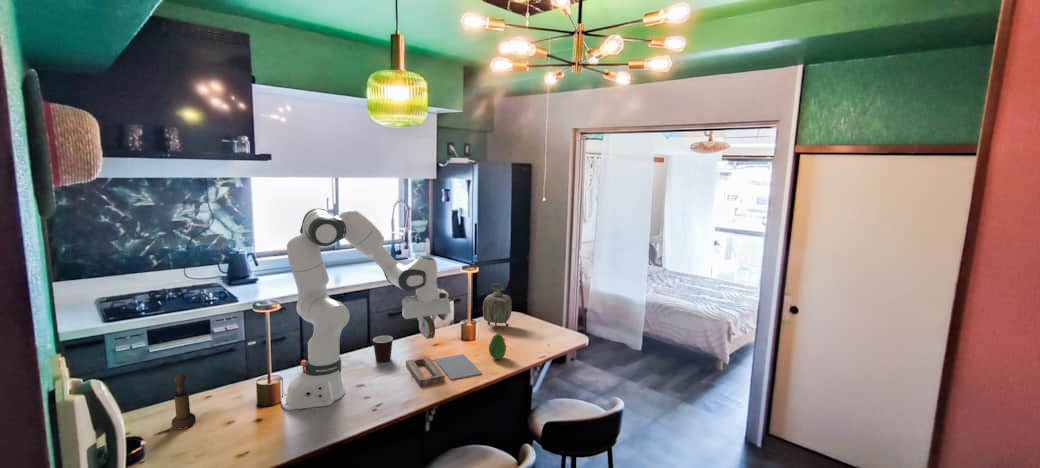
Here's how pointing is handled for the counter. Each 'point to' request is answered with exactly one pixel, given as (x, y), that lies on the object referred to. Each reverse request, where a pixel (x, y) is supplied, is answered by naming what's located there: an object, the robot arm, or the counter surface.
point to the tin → (427, 327)
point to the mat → (457, 367)
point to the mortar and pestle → (182, 406)
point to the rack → (431, 367)
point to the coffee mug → (383, 348)
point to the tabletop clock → (497, 307)
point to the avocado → (497, 347)
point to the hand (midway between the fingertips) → (426, 325)
